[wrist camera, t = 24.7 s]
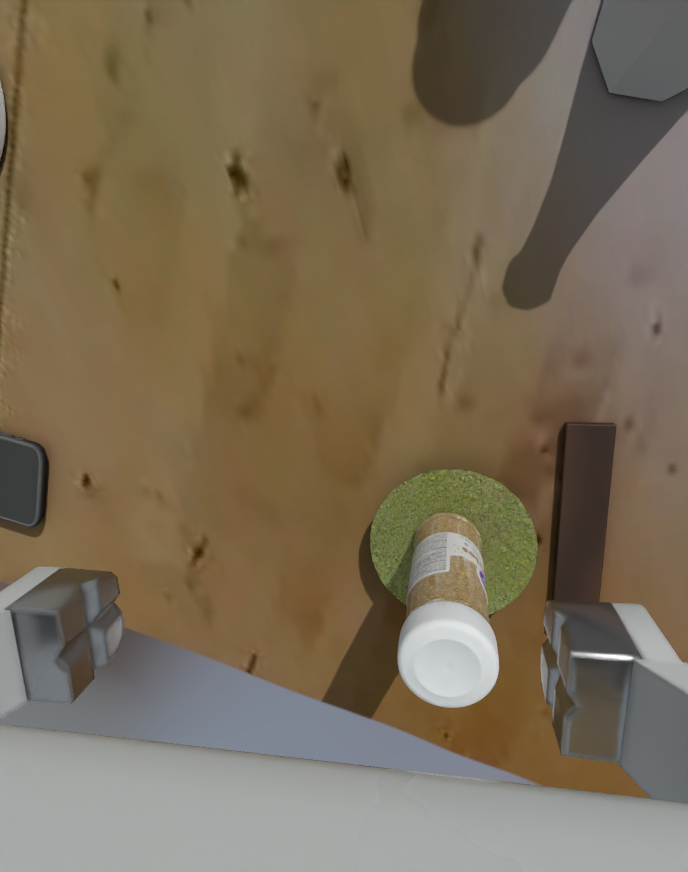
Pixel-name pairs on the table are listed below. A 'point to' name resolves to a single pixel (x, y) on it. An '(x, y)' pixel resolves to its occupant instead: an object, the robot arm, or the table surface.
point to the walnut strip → (583, 510)
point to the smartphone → (22, 480)
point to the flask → (643, 47)
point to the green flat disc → (476, 501)
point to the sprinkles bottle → (447, 616)
